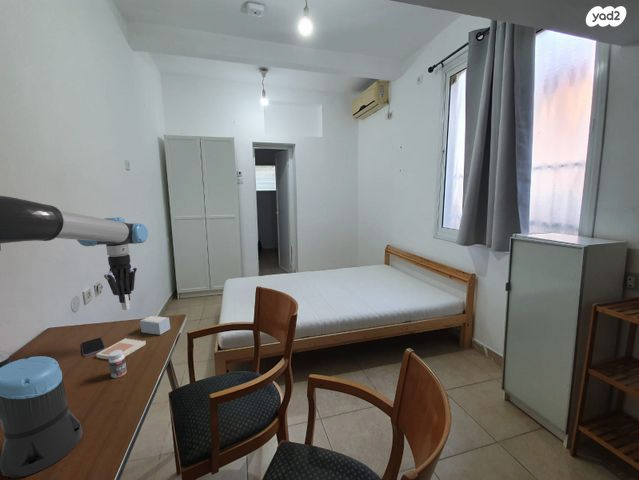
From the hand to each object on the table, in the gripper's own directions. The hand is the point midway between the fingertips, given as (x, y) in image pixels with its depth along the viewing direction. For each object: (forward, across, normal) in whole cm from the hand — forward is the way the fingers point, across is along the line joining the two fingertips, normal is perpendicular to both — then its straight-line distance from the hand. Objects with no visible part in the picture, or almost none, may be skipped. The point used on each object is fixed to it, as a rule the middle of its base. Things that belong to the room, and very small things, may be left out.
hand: (126, 309), depth 123 cm
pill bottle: (+17, -18, -16) cm, 29 cm away
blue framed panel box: (+15, +12, -1) cm, 19 cm away
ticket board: (+16, -5, -1) cm, 17 cm away
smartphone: (+17, -6, +14) cm, 23 cm away
